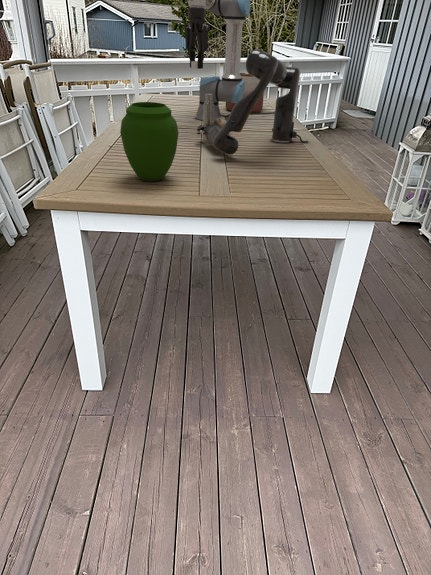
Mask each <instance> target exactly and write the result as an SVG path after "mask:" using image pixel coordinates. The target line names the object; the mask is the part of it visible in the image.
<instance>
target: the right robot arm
mask: <svg viewBox="0 0 431 575" xmlns="http://www.w3.org/2000/svg"><path fill="white" fill-rule="evenodd" d="M246 57H247V58H246V60H245V70H246V73H249V74H250V75H252V76H254V77H256V78H257V79H259V80H260V81H259V83H258V85H257V86H256V87H255V89H254V90H253V91H252V92H250V93H249V94H248V95H246V96H245V97H244V98H242V99H241V100H240V101H238V102H237V103H236V104H235V106H234V107H233V109H232V111H230V113H229V114H230V115H229V116H228V118H227V119H226V121H227V122H226V123H225V125H224V126H223V127H220V126H218V125H215V124H212V125H209V126H208V127H207V126H203V124H200V125H198V126H196V127H197V128H196V134H197V135H198V136H199V135H203V134H204V135H205V136H206V138H207V139H208V140H209V141H210V142H211V143H210V144H212V146H213V148H214V149H216V150H217V151H219V152H221V153H224V154H226V155H229V156H231V155H234V154H236V153H237V151H238V149H239V145H240V144H239V141H238V139H237V138H236V137H235V136H232V135H230V134H231V132H233V133H241V132H242V130H243V128H244V127H245V125H246V122H247V121H248V118H249V117H250V115H251V114H250V113H251V111H252V109H253V107H254V106H255V104H256V103H257V101H258V100H259V98H260V97H261V95H262V94H263V92H264V93H265V90H266V89H267V87H268V86H269V84H271V85H274V86H275V87H277V88H278V89H284V90H288V93H286V94H284V95H280V96H278V97H277V98H276V99H275V106H274V112H275V113H274V116H273V117H274V118H273V125H272V126H273V127H272V129H271V132H272V134H271V141H272V142H273V143H278V144H288V143H292V140H293V139H296V138H299V141H300V142H301V143H302V144H306V143H309V140H303V139H302V137H301V135H299V134H298V132H297V131H295V130H294V128H295V121H294V117H295V116H294V114H295V107H296V100H297V96H298V89H299V83H300V78H301V70H300V68H299V67H296V66H295V67H294V66H286V65H285V63H284V62H282V60H280V59H278V58H277V57H276V56H274V55H272V54H270V53H269V52H266V51H265V50H263V49H260V48H255V49H253V50H252V51H250V52H249V53H248V56H246Z"/></svg>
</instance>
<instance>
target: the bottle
mask: <svg viewBox="0 0 431 575" xmlns="http://www.w3.org/2000/svg"><path fill="white" fill-rule="evenodd" d="M212 98H213V94H205V101H204V104H203V120H202V126H207V127H208V126H209V125H212V124H213V122H214V121H213V113H214V104H213V101H212ZM201 135H202V137H201V138H202V139H201V140H202V142H201V143H202V144H208V145H209V144H212V143H211V142H210V141H209V140H208V139H207V138H206V136H205V135H204V134H203V133H202V134H201Z"/></svg>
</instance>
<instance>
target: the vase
mask: <svg viewBox="0 0 431 575" xmlns="http://www.w3.org/2000/svg"><path fill="white" fill-rule="evenodd" d="M125 113H126V114H125V115H124V117H122V119H121V122H120V123H121V124H120V130H119V133H120V138H121V142H122V147H123V150H124V154H125V155H126V158H127V160H128V163H129V165H130V167H131V168H132V170H133V172H134V173H135V175H136V176H137V177H138V178H139V179H141V180H143V181H145V182H159V181H161V180H163V179H164V178H165V176H166V175H167V174H168V173H169V170H170V169H171V167H172V165H173V162H174V159H175V157H176V156H175V155H176V153H177V147H178V140H179V129H178V122H177V120H176V119H175V117H174V116H173V115H172V109H171V108H170V107H169V106H167V105H166V104H164V103H162V102H155V101H138V102H132V103H131V104H130V105H128V107H127V108H125Z"/></svg>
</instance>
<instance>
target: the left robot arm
mask: <svg viewBox="0 0 431 575" xmlns="http://www.w3.org/2000/svg"><path fill="white" fill-rule="evenodd" d="M187 3H188V8H187V11H188V15H187V16H188V18H189V21H188V23H185V24H184V29H185V49H186V50H188V58H189V68H191V61H196V49H195V45H196V40H197V46H198V50H197V61H198V68H197V69H198V70H202V69H204V60H205V52H208V50H209V49H208V48H209V30H210V25H209V24H206V23H205V19H206V11H207V12H209V13H211V14H213V15H217V16H223V20H224V22H225V23H226V28H225V30H226V31H225V35H226V36H225V54H224V56H225V58H224V73H223V75H222V76H221V77H220V76H218V75H217V76H206V77H201V78H200V80H199V86H198V87H199V94H198V95H199V100H198V101H199V103H198V104H199V105H198V107H197V111H196V114H195V119H196V120H199V121H203V104H204V101H205V94H213V98H212V101H213V104H214V113H213V122H214V121H215V120H216V119H218V118H221V117H224V118H227V117H228V118H229V116H230V114H231V113H228V114H227V115H224V114H221V110H220V107H219V105H220V103H221V102H222V103H226V102H230V103H237V102H238V101H240V100H241V99H242V98H243V95H244V91H245V82H243V81H242V76H241V75H240V73H241V59H242V58H241V56H242V41H243V40H242V39H243V24H244V23H245V22H246V20H247V18H248V17H249V16H250V12H251V0H188V2H187ZM196 38H197V39H196ZM191 69H192V68H191ZM219 102H220V103H219ZM268 114H269V115H270V114H275V111H271V112H269V111H267V112H257V113H250V114H249V115H268Z"/></svg>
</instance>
